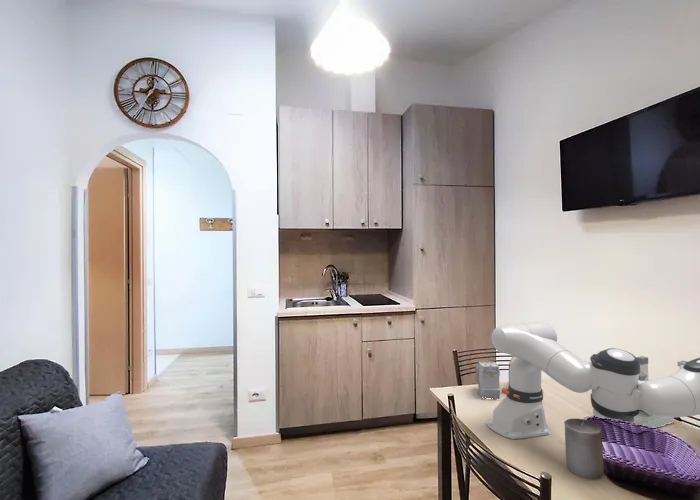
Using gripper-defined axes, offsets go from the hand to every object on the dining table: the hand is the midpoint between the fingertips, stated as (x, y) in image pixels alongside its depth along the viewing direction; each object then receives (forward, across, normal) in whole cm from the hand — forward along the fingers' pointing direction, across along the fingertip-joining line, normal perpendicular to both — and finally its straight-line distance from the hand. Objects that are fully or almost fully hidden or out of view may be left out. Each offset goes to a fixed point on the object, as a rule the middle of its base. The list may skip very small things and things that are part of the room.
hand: (679, 363), depth 134 cm
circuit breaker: (+56, -40, -25) cm, 73 cm away
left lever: (+12, -16, -19) cm, 28 cm away
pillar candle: (-3, -56, -24) cm, 61 cm away
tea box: (+51, -24, -25) cm, 62 cm away
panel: (+12, -8, -24) cm, 28 cm away
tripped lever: (+12, -1, -19) cm, 23 cm away
